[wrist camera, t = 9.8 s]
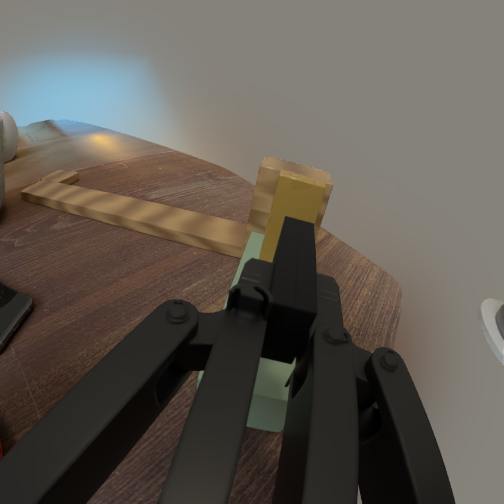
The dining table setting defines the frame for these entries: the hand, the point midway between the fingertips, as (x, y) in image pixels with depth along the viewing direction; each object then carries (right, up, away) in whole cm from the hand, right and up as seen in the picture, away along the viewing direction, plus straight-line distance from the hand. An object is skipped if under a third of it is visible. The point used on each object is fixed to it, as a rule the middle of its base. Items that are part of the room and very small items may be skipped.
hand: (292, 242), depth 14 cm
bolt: (0, 0, +12) cm, 12 cm away
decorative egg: (-73, +25, +36) cm, 86 cm away
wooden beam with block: (-19, +5, +24) cm, 31 cm away
